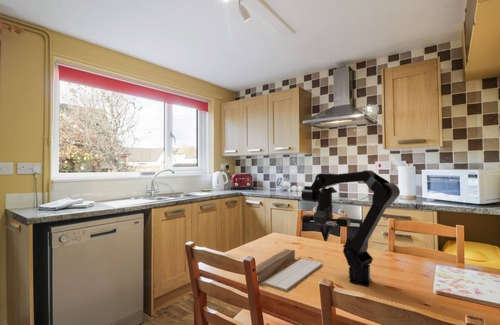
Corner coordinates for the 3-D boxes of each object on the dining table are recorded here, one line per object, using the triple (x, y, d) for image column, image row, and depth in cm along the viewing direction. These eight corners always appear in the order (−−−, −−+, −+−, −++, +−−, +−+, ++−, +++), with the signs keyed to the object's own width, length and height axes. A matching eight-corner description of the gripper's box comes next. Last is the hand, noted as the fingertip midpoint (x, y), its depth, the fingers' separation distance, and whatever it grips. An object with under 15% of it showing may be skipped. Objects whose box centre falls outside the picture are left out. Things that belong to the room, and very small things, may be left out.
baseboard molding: (258, 284, 96) (286, 293, 88) (258, 276, 96) (286, 285, 88) (297, 260, 120) (322, 266, 113) (297, 254, 120) (322, 259, 113)
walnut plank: (294, 258, 121) (294, 250, 121) (258, 283, 95) (257, 272, 95) (285, 256, 124) (285, 248, 124) (247, 280, 98) (246, 270, 98)
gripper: (296, 204, 106) (296, 242, 106) (342, 207, 96) (343, 249, 95) (306, 201, 115) (307, 236, 115) (350, 203, 105) (351, 242, 104)
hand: (325, 240), depth 107 cm, fingers closed
